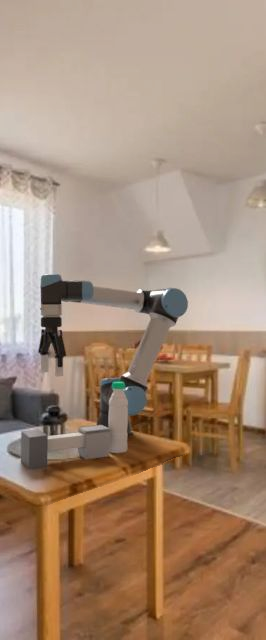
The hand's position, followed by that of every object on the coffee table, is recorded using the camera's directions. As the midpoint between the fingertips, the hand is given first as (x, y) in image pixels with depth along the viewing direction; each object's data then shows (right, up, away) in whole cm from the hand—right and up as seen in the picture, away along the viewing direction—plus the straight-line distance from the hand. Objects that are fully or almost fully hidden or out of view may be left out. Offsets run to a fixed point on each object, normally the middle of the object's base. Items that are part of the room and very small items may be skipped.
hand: (51, 374), depth 171 cm
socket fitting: (-3, -27, -19) cm, 33 cm away
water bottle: (+24, -28, -3) cm, 37 cm away
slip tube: (+6, -23, -14) cm, 28 cm away
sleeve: (+16, -27, -8) cm, 33 cm away
